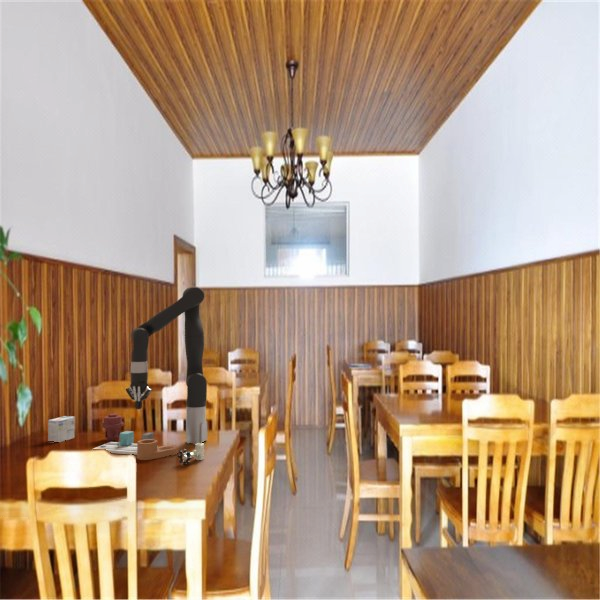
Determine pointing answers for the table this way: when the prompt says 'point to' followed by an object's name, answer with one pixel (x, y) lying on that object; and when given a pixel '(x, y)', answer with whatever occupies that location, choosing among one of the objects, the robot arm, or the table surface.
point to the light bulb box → (61, 428)
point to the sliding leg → (126, 438)
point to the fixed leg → (148, 436)
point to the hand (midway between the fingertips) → (138, 409)
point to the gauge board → (123, 449)
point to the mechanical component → (112, 426)
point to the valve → (192, 454)
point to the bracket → (154, 449)
